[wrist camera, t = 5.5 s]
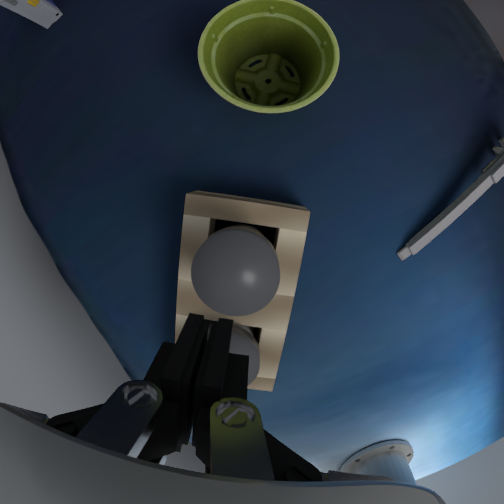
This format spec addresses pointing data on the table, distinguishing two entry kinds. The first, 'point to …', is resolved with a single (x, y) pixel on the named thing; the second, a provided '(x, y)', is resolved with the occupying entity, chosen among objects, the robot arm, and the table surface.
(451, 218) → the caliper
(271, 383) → the mount
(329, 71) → the plant pot
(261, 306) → the knob near
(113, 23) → the table surface
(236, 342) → the knob far
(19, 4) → the blue upright box
